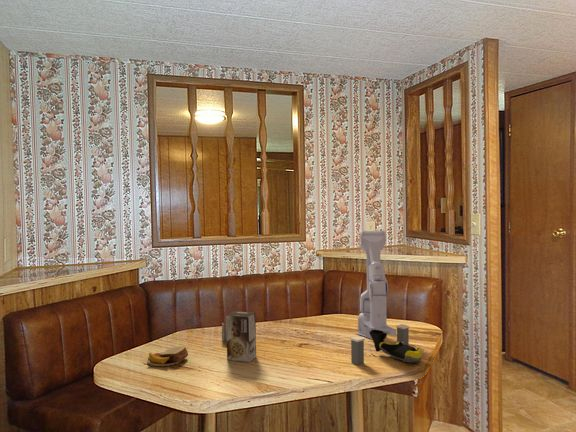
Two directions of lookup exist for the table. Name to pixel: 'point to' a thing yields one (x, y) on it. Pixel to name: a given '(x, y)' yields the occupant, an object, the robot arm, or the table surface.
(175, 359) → the toy sandwich meal
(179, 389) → the table surface
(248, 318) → the coffee box
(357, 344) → the posts
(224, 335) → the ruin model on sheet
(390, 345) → the black yellow sneaker
